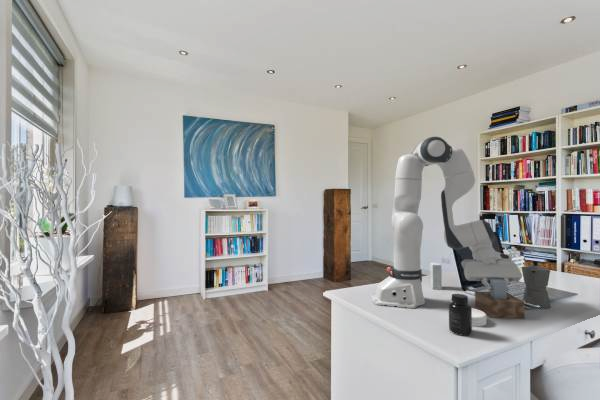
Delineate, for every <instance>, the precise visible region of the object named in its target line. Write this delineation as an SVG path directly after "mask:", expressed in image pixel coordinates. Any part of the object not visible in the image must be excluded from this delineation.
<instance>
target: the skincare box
mask: <svg viewBox="0 0 600 400" xmlns="http://www.w3.org/2000/svg"><path fill="white" fill-rule="evenodd" d="M442 275H443V274H442V264H441V263H440V262H430V263H429V277H430V278H429V279H430V280H429V282H430V283H429V284H430V285H429V286H430V287H431V288H432V289H433V290H442V287H443V284H442V281H443V280H442V278H443V277H442Z"/></svg>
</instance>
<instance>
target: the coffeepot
mask: <svg viewBox="0 0 600 400" xmlns="http://www.w3.org/2000/svg"><path fill="white" fill-rule="evenodd" d="M538 263H539V262H538V261H536V260H534V261H532V264H533V265H525V266H521V273H522V277H523V282H524V284H525V288H524V292H523V296H522V301H525V302H526V303H530V304H533V305H539V306H540V307H539V308H538V309H541V310H546V309H550V308H552V307H551V302H550V298H549V292H548V290H547V287H548V286H549V279H550V274H551V270H550V269H549V268H547V267H544V266H540V264H538Z"/></svg>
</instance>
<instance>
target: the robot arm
mask: <svg viewBox="0 0 600 400" xmlns="http://www.w3.org/2000/svg"><path fill="white" fill-rule="evenodd" d="M433 165H437V166H438V167H439V168H440V170H441V171H442V175H443V177H444V181H445V182H444V183H445V184H444V188H443V190H442V191H441V193H440V201H441V212H442V220H443V226H444V232H443V233H444V234H443V238H444V242H445V244H446V246H447V247H448V248H451V249H452V250H455V251H458V250H461V249H464V248H469V250H470V251H471V253H472V254H471V255H472V259H463V260H461V261H460V264H461V267H462V269H463V275H464V277H465V279H466V280H467V281H469V282H471V281H473V282H481V284H483V286H485V287H486V288H487V289H486V290H487V291H490V290H493V287H492V285H491V284H490V279H501V280H503V281H505V282H506V286H507V292H508V291H509V290H510V288H509V286H508V284H509V282H515V283H517V282H519V281H520V280H521V279H522V277H523V273H522V271H521V270H520V268H519V266H518V265H517V263H516V262H514V261H512V260H513V257H512V256H511V255H510V254H507V253H501V252H499V251H496V250H495V248H494V247H493V243H494V242H495V239H496V234H495V231H494V230H493V229H492V226H491V224H490V223H489V222H488V221H486V220H484V219H478V220H475V221H469V222H466V223H462V224H459V225H457V224H455V223H454V213H453V206H454V204H455V203H456V202H457V200H459V199H460V198H463V196H464V195H466V194H467V193H469V192H470V191H472V189H473V188H474V186H475V183H476V179H475V178H476V177H475V174H474V170H473V166H472V165H471V161H470V160H469V159H468V156H467V154H466V153H465V151H464V150H463V149H462V148H459V147H452V146H451V145H450V144H449V143H448V142H447V141H446V140H445V139H443V138H442V137H440V136H431V137H428V138H426V139H424V140H422V141H421V142H420V143H419V144H418V145H416V146H415V148H414V149H413V151H412V152H411V153H407V154H403V155H401V156H400V157H399V158H398V161H397V164H396V169H395V175H394V176H395V177H394V195H393V197H394V198H393V205H392V212H391V228H392V229H393V231H394V242H393V243H394V244H393V253H392V254H393V267H390V266H388V267H387V268H386V271H387V272H388V276H387V277H386V278H385V279H383V280H382V281H380V282H379V283H378V284H377V287H376V291H375V292H374V293H372V294H371V297H370V299H371V301H373V302H374V303H373V302H372V303H373V304H375V305H377V304H378V305H377V306H384V305H387V307H394V306H397V307H398V308H405V307H406V309H416V308H417V307H419V306H423V305H425V303H426V301H425V296H424V292H423V287H422V282H423V272H422V270H423V269H421V247H422V241H423V229H424V223H423V219H422V218H421V217H420V216H419V215H418V214H419V210H420V209H419V208H420V204H421V203H420V202H421V200H422V189H423V188H422V187H423V186H422V185H423V182H422V181H423V170H424V169H425V167H428V166H433Z"/></svg>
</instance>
